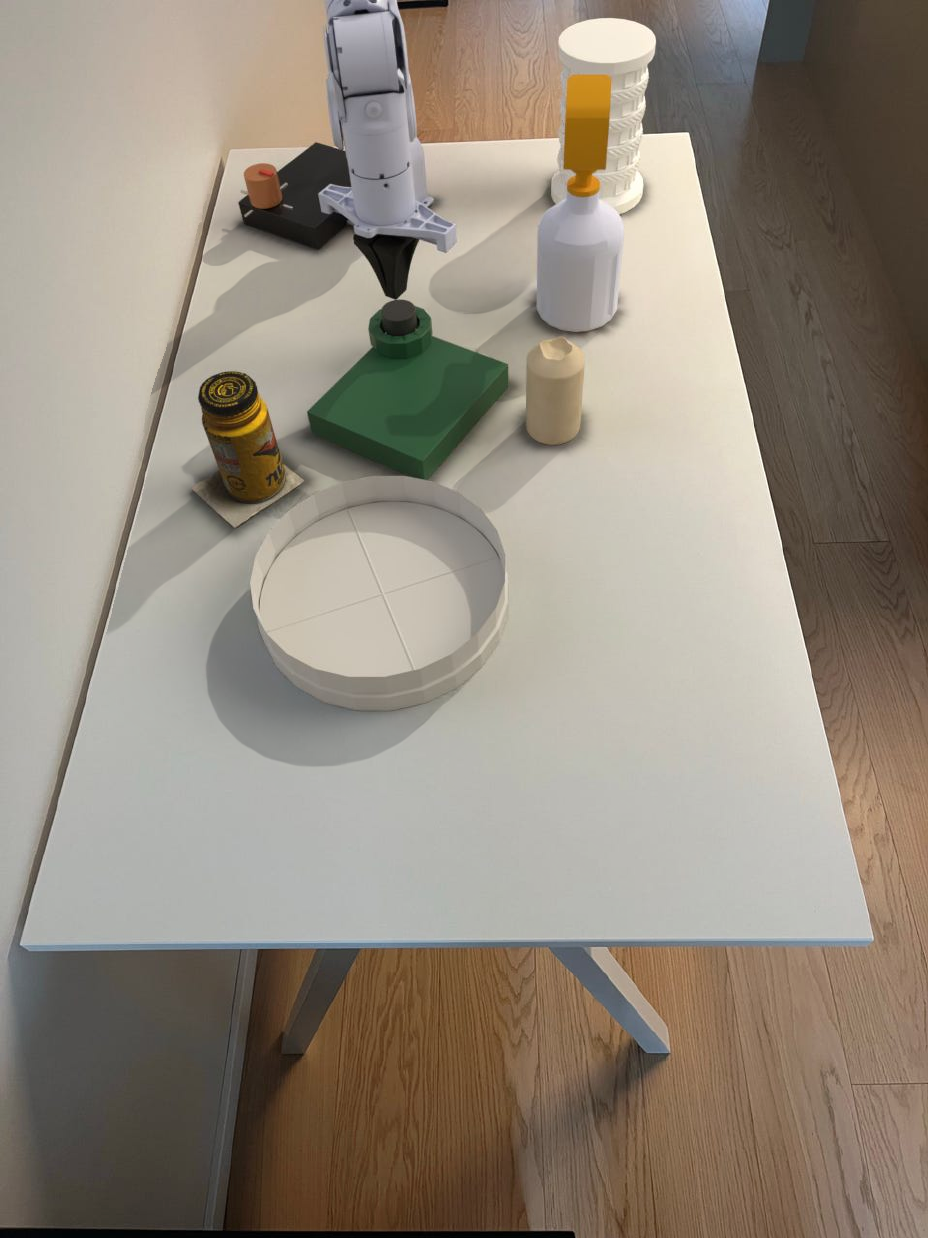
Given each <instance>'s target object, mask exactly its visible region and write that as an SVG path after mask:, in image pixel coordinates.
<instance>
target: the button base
mask: <svg viewBox="0 0 928 1238" xmlns="http://www.w3.org/2000/svg"><path fill="white" fill-rule="evenodd" d="M414 306H415V309H416V318H417V328H416V330H415V331H414V332H413V333H410V334H408V335H405V336H391V335H388V334H386V333H385V331H384V329H383V324H382V317H381V309H382V308H380V309H378V310H377V311H376V312H375V313H374V314H373V315H372V316H371V317H370V318H369V322H368V336H369V343H370V345H371V348H370V349H369V350H368V351H367V352H366V353H365V354H364V355H363V356H362V357H361V358H360V359H359V360H358V361H356V363H354V365H353V366H352V367H350V369H349V370H348V371H346V373H344V375H343V376H341V378H339V379H338V381H336V383H334V384H333V385H332V386H331V387H330V388H329V389H328V390H327V391H326V392H325V393H324V394H323V395H322V396H321V397H320V398H319V399H318V400H317V401H316V402H315V403H314V404H313V405H312V406H311V407H310V408H309V409H308V410H307V411H306V415H307V418H308V422H309V426H310V431H311V434H312V435H314V436H317V437H319V438H321V439H323V440H326V441H328V442H331V443H333V444H335V445H337V446H340V447H341V448H344V449H346V450H349V451H350V452H353V453H356V454H357V455H360V456H362V457H364V458H367V459H369V460H372V461H374V462H376V463H378V464H380V465H383V466H385V467H387V468H390V469H392V470H395V471H397V472H399V473H401V474H403V475H405V476H407V477H413V478H418V479H423V480H429V479H430V478H431V477H432V475H434V474H435V472H436V471H437V470H438V469H439V468H440V467H441V466H442V464H443V463H444V462H445V460H447V458H448V457H449V456H450V455H451V454H452V453H453V451H454V450H455V449H456V448H457V447H458V446H459V445H460V444H461V442H462V441H463V440H464V439H465V438H466V436H467V435H468V434H469V433H470V432H471V431H472V430H473V428H474V427H475V426H476V425H477V424H478V423H479V422H480V421H481V419H482V418H483V417H484V416H485V415H486V413H487V412H488V411H489V410H490V409H491V408H492V407H493V406H494V404H495V403H496V402H497V401H498V399H500V397H501V396H502V395H503V394H504V393H505V391H506V390H507V389H509V386H510V385H509V364H508V363H507V362H504V361H501V360H498V359H496V358H493V357H490V356H487V355H484V354H482V353H479V352H477V351H473V350H471V349H468V348H465V347H463V346H460V345H458V344H455V343H452V342H450V341H447V340H445V339H441V338H438V337H436V336H433V333H434V332H433V322H432V316H431V315H430V314H429V313H428V312H427V311H426V310H425V308H422V307H419V306H416V305H414Z"/></svg>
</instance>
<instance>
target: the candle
mask: <svg viewBox="0 0 928 1238" xmlns="http://www.w3.org/2000/svg"><path fill="white" fill-rule="evenodd" d="M525 360H526V361H525V379H526V380H525V427H526V431H527V434H528V435H529V437H531V438H532V439H533V440H535V441H536V442H538V443H541V444H544V445H549V446H550V445H551V446H556V445H562V444H566V443H568V442H570V441H572V440H573V439H574V438H575V437H576V436H577V435H578V433H579V431H580V428H581V420H582V408H583V395H584V394H583V393H584V379H585V365H586V358H585V354H584V352H583V351H582V349H581V348H580V347H579V346H577V345H575V344H574V343H573V342H571V341H569V340H568V339H567V338H566V337H564V336H558V337H555V338H553V339H547V340H545V339H544V340H542V341H540V343H538V344H536V345H534V346H533V347H532V348H531V349H530V350H529V351H528V352H527V354H526V359H525Z"/></svg>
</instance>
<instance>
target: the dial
mask: <svg viewBox="0 0 928 1238" xmlns="http://www.w3.org/2000/svg"><path fill="white" fill-rule="evenodd" d="M277 172H278V170H277V168H276V166H275V165H273V164H270V163H265V162H263V163H262V162H261V163H255V164H252V165H250V166H248V167H247V168H246V169H245V170H244V172H243V178H244V182H245V186H246V190H247V192H248V195H249V199H250V203H251V205H252V206H254V207H256V208H260V209H267V208H272V207H274V206H276V205H278V204H279V203H280V202H281V201H282V193H281V188H280V184H279V179H278V174H277Z"/></svg>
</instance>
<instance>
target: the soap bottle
mask: <svg viewBox="0 0 928 1238" xmlns="http://www.w3.org/2000/svg"><path fill="white" fill-rule="evenodd" d="M610 102H611V78H610V76H608V75H572V76H570V77H569V78H568V79H567V96H566V114H565V139H564V165H563V170H572V171H573V172H574V173H576V176H573V177H571V178H570V179H569V180H568V182H567V199H565V200H562V201H560V202H559V203H557V204H556V203H555V204H554V205H552V206H551V207H550V208H548V209H547V210H546V211H545V213H544V214H543V215H542V216H541V219H540V221H539V224H538V225H537V226H538V228H537V246H536V249H537V250H536V251H537V252H536V253H537V254H536V311H537V312H538V314H539V317H540V318H541V320H542V321H544V322H545V323H546V324H548V325H549V326H550V327H553V328H555V329H558V330H560V331H566V332H573V333H580V332H589V331H592V330H595V329H596V330H597V329H598V328H599V329H600V328H601V327H604V325H606V324H607V323H609V322H610V321H611V320H612V319H613V317H614V315H615V314H616V313H617V310H618V302H619V293H620V281H621V272H622V263H623V262H622V261H623V253H624V252H623V250H624V241H625V225H624V222H623V217H621V214H619V213H618V212H617V210H615V209H614V208H612V207H611V206H610V205H608V204H607V203H605V202H604V201H602V200H599V191H600V182H599V180H598V179H597V178H596V177H594V176H592V174H593V173H595V172H596V171H597V170H606V160H607V147H608V134H609V120H610Z"/></svg>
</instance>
